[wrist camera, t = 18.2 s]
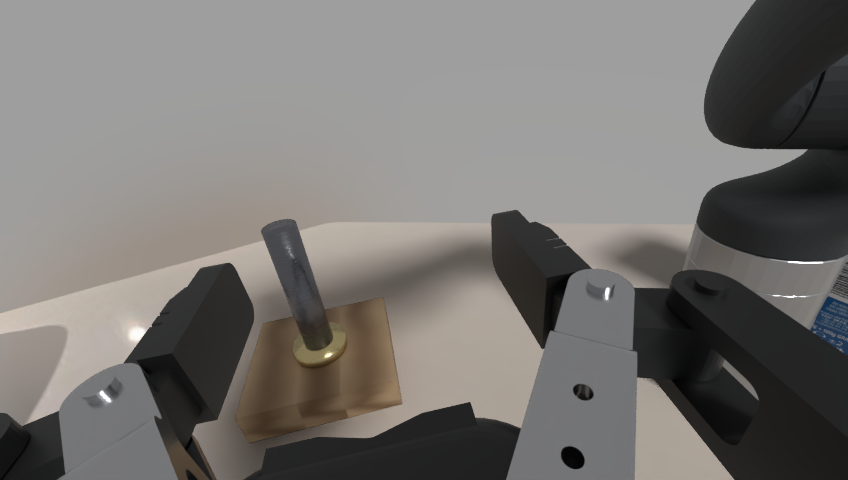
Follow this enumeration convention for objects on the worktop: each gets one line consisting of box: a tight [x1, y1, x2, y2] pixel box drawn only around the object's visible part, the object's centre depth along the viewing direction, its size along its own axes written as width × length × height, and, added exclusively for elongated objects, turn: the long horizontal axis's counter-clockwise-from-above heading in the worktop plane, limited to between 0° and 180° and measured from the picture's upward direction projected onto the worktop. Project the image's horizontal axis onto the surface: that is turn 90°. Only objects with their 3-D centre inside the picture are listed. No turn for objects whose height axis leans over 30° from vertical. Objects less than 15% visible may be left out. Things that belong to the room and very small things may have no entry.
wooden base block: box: [235, 297, 402, 443], centre depth 42 cm, size 16×14×4 cm
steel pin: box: [261, 219, 348, 369], centre depth 38 cm, size 6×6×20 cm
